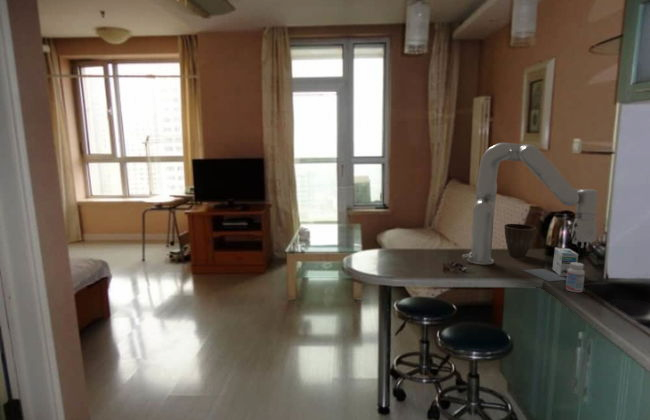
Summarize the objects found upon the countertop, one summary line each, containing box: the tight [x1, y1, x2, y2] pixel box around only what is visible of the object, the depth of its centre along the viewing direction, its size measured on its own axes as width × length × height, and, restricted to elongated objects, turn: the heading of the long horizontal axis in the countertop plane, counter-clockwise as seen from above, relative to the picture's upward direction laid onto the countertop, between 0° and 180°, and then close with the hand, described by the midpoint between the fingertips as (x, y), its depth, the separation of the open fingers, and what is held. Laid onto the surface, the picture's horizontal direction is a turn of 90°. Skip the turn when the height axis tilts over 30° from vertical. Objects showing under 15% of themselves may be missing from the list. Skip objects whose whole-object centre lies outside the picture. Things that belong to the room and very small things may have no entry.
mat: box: [522, 268, 567, 283], centre depth 186 cm, size 11×16×1 cm
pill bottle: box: [565, 262, 586, 293], centre depth 166 cm, size 6×6×11 cm
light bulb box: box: [552, 247, 579, 277], centre depth 187 cm, size 11×7×11 cm, turn 168°
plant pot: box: [503, 223, 537, 259], centre depth 216 cm, size 15×15×16 cm
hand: (581, 255), depth 189 cm, fingers closed
